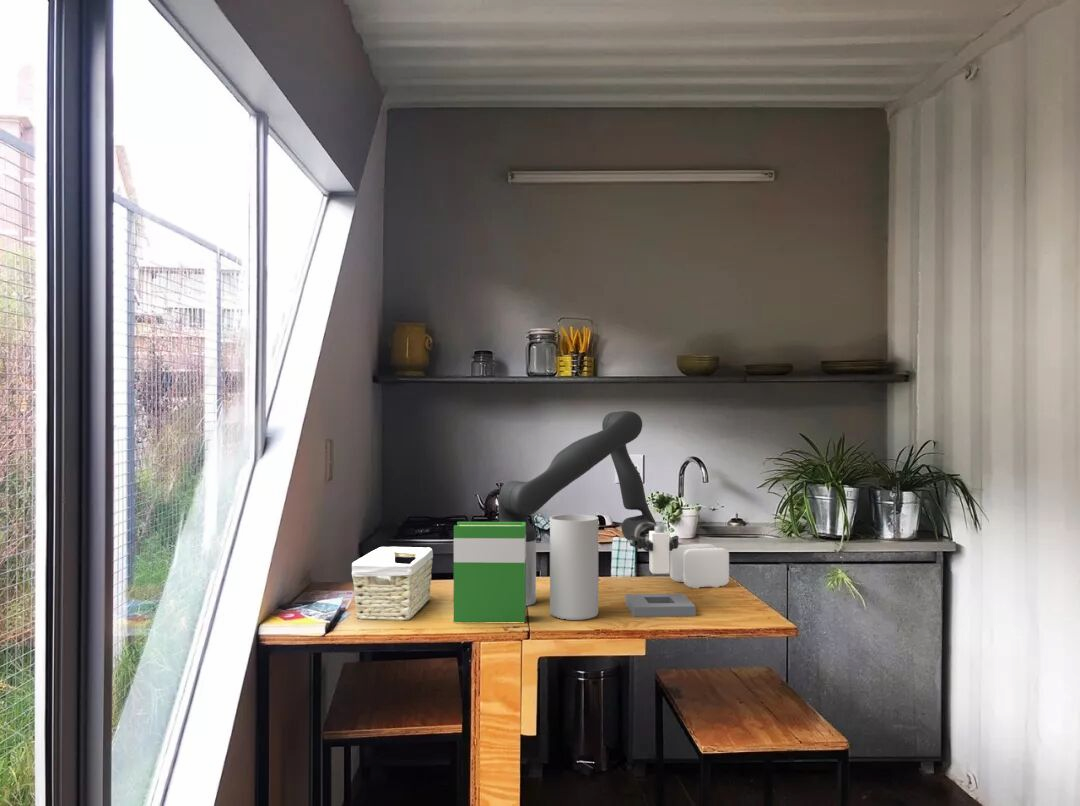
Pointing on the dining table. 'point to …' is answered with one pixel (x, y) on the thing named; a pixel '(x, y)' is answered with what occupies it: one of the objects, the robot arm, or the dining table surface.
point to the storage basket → (392, 583)
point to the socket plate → (659, 605)
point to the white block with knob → (659, 551)
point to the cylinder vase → (574, 566)
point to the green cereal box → (490, 572)
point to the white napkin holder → (700, 565)
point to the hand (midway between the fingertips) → (661, 547)
